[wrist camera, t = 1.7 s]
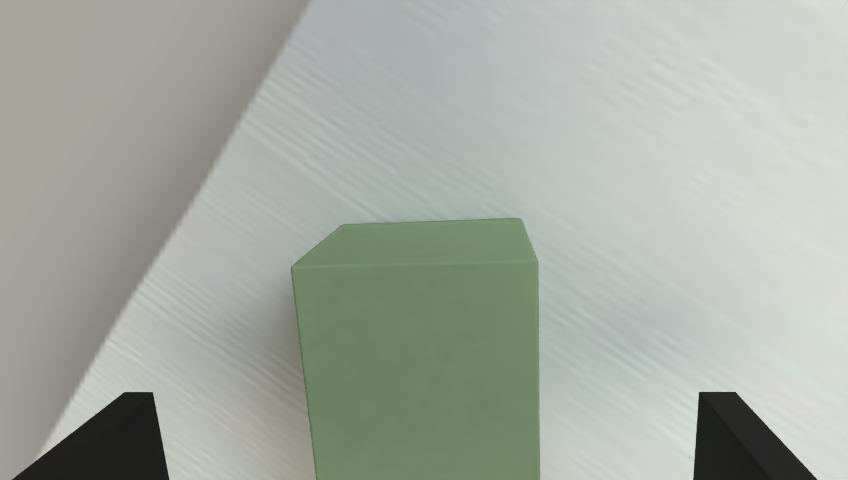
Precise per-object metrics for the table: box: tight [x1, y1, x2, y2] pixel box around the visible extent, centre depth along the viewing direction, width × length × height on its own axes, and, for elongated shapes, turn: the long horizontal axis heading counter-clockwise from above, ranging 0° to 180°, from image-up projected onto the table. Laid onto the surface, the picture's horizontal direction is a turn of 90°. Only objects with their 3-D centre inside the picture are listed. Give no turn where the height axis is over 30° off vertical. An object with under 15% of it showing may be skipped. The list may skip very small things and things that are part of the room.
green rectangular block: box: [291, 218, 540, 480], centre depth 16 cm, size 8×6×5 cm
